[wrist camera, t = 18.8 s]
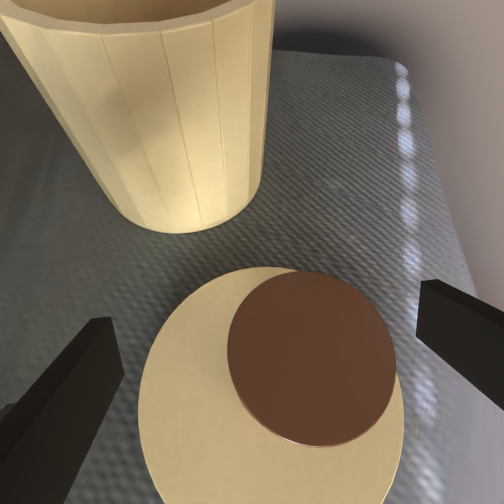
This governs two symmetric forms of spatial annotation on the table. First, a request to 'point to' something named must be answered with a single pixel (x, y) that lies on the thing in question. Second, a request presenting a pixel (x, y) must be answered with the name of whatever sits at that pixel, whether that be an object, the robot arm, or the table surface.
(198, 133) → the canister
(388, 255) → the table surface
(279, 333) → the canister lid
